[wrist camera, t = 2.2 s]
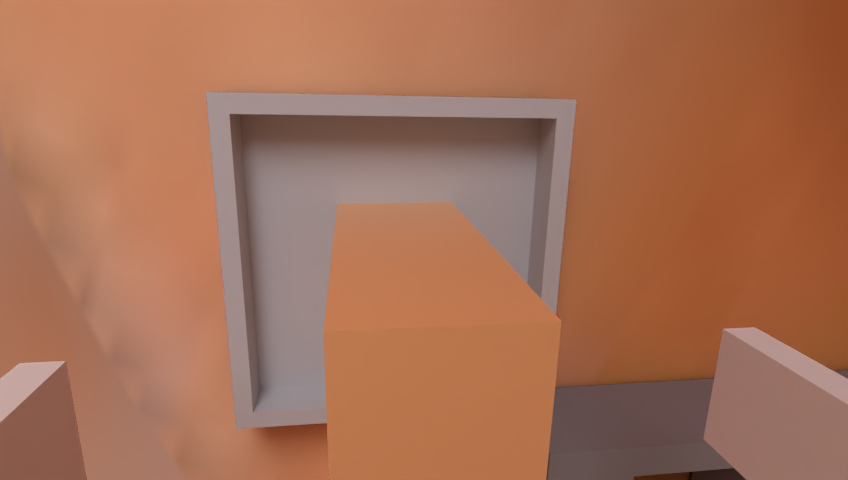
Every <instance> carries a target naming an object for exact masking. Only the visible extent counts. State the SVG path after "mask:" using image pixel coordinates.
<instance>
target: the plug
mask: <svg viewBox="0 0 848 480" xmlns="http://www.w3.org/2000/svg"><path fill="white" fill-rule="evenodd" d="M561 325H562V321H561V320H560V319H559V318H558V317H557V316H556V315H555V314H554V313H553V311H552V310H551V309H550V308H549V307H548V306H547V305H546V304H545V303H544V302H543V301H542V300H541V298H540V297H539V296H538V295H537V294H536V293H535V292H534V291H533V290H532V289H531V288H530V286H529V285H528V284H527V283H526V282H525V281H524V280H523V279H522V278H521V277H520V276H519V275H518V273H517V272H516V271H515V270H514V269H513V268H512V267H511V266H510V265H509V264H508V263H507V262H506V260H505V259H504V258H503V257H502V256H501V255H500V254H499V253H498V252H497V251H496V250H495V249H494V247H493V246H492V245H491V244H490V243H489V242H488V241H487V240H486V239H485V238H484V237H483V236H482V234H481V233H480V232H479V231H478V230H477V229H476V228H475V227H474V226H473V225H472V224H471V223H470V221H469V220H468V219H467V218H466V217H465V216H464V215H463V214H462V213H461V212H460V211H459V209H458V208H457V207H456V206H455V205H454V204H453V203H452V202H437V203H337V210H336V219H335V228H334V238H333V247H332V257H331V266H330V276H329V285H328V294H327V304H326V313H325V323H324V358H325V386H326V414H327V443H328V471H329V480H546V476H547V465H548V455H549V445H550V435H551V425H552V415H553V405H554V395H555V385H556V375H557V365H558V355H559V345H560V335H561Z"/></svg>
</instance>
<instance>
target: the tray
mask: <svg viewBox="0 0 848 480" xmlns="http://www.w3.org/2000/svg"><path fill="white" fill-rule="evenodd" d="M206 100H207V111H208V122H209V133H210V144H211V155H212V166H213V178H214V189H215V200H216V211H217V222H218V233H219V244H220V255H221V266H222V277H223V288H224V299H225V311H226V322H227V333H228V344H229V355H230V366H231V377H232V388H233V399H234V410H235V421H236V429H245V428H260V427H275V426H291V425H306V424H321V423H327V414H326V386H325V358H324V323H325V313H326V304H327V294H328V285H329V276H330V266H331V257H332V247H333V238H334V228H335V219H336V210H337V203H437V202H452V203H453V204H454V205H455V206H456V207H457V208H458V209H459V211H460V212H461V213H462V214H463V215H464V216H465V217H466V218H467V219H468V220H469V221H470V223H471V224H472V225H473V226H474V227H475V228H476V229H477V230H478V231H479V232H480V233H481V234H482V236H483V237H484V238H485V239H486V240H487V241H488V242H489V243H490V244H491V245H492V246H493V247H494V249H495V250H496V251H497V252H498V253H499V254H500V255H501V256H502V257H503V258H504V259H505V260H506V262H507V263H508V264H509V265H510V266H511V267H512V268H513V269H514V270H515V271H516V272H517V273H518V275H519V276H520V277H521V278H522V279H523V280H524V281H525V282H526V283H527V284H528V285H529V286H530V288H531V289H532V290H533V291H534V292H535V293H536V294H537V295H538V296H539V297H540V298H541V300H542V301H543V302H544V303H545V304H546V305H547V306H548V307H549V308H550V309H551V310H552V311H553V313H554V314H555V315H556V309H557V298H558V288H559V277H560V267H561V257H562V246H563V236H564V225H565V215H566V205H567V194H568V184H569V173H570V163H571V153H572V142H573V132H574V121H575V111H576V100H577V99H553V98H502V97H452V96H401V95H351V94H300V93H249V92H206Z"/></svg>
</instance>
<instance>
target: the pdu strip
mask: <svg viewBox="0 0 848 480" xmlns="http://www.w3.org/2000/svg"><path fill="white" fill-rule="evenodd" d="M834 372H836V373H838V374H840V375H842V376H843V377H845V378H847V379H848V370H843V371H834ZM713 382H714V378H708V379H691V380H675V381H658V382H641V383H624V384H607V385H591V386H574V387H557V388H555V395H554V405H553V415H552V425H551V435H550V445H549V455H548V465H547V476H546V480H634V477H635V476H647V475H658V474H670V473H682V472H692V477H691V480H746V479H745V478H744V477H743V476H742V475H741V474H740V473H739V472H738V471H737V470H736V469H735V468H734V467H732V466H731V465H730V464H729V463H728V462H727V461H726V460H725V459H724V458H723V457H722V456H721V455H720V454H719V453H718V452H717V451H716V450H715V449H713V448H712V447H711V446H710V445H709V444H708V443H707V442H706V441H705V440H704V439H703V438H704V432H705V427H706V421H707V416H708V410H709V404H710V399H711V393H712V388H713Z"/></svg>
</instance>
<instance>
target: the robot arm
mask: <svg viewBox="0 0 848 480" xmlns="http://www.w3.org/2000/svg"><path fill="white" fill-rule="evenodd" d="M703 439H704V440H705V441H706V442H707V443H708V444H709V445H710V446H711V447H712V448H713V449H715V450H716V451H717V452H718V453H719V454H720V455H721V456H722V457H723V458H724V459H725V460H726V461H727V462H728V463H729V464H730V465H731V466H732V467H734V468H735V469H736V470H737V471H738V472H739V473H740V474H741V475H742V476H743V477H744V478H745V479H746V480H848V379H847V378H845V377H843V376H842V375H840V374H838V373H836V372H834V371H833V370H831V369H829V368H827V367H825V366H824V365H822V364H820V363H818V362H816V361H815V360H813V359H811V358H809V357H807V356H806V355H804V354H802V353H800V352H798V351H797V350H795V349H793V348H791V347H789V346H788V345H786V344H784V343H782V342H780V341H779V340H777V339H775V338H773V337H771V336H770V335H768V334H766V333H764V332H762V331H761V330H759V329H757V328H755V327H749V328H728V329H723V332H722V337H721V343H720V348H719V354H718V360H717V365H716V371H715V376H714V382H713V388H712V393H711V399H710V404H709V410H708V416H707V421H706V427H705V432H704V438H703ZM0 480H87V478H86V473H85V467H84V461H83V456H82V450H81V444H80V439H79V433H78V427H77V421H76V416H75V410H74V404H73V398H72V393H71V387H70V382H69V376H68V370H67V364H66V361H59V362H58V361H57V362H38V363H37V362H36V363H19V364H18V365H17V366H16V367H14V368H13V369H12V370H11V371H9V372H8V373H7V374H6V375H5V376H3V377H2V378H1V379H0Z"/></svg>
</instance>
